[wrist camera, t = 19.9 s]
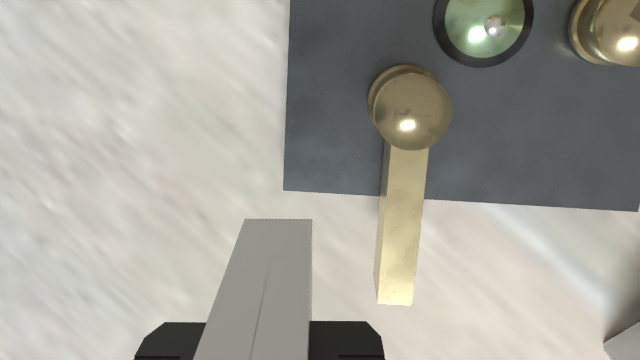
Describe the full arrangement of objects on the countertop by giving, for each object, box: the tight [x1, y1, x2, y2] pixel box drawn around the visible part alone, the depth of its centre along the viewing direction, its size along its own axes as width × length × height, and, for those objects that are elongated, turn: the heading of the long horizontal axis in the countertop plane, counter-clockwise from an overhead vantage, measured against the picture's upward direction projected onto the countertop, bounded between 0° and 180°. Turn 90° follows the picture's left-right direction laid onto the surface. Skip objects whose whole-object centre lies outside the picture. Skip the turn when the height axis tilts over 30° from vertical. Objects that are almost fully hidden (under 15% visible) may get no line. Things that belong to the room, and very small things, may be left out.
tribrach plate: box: [283, 0, 640, 212], centre depth 35 cm, size 22×22×3 cm
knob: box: [367, 64, 452, 306], centre depth 34 cm, size 13×4×4 cm, turn 177°
